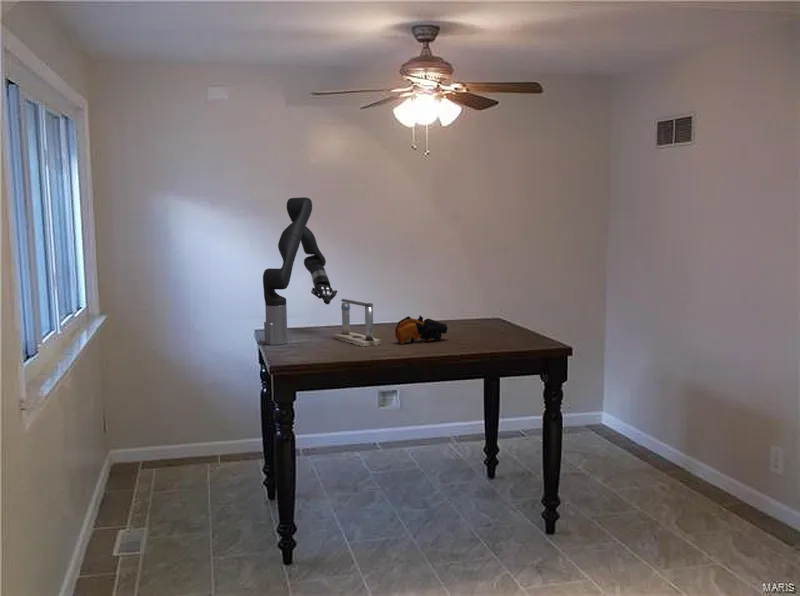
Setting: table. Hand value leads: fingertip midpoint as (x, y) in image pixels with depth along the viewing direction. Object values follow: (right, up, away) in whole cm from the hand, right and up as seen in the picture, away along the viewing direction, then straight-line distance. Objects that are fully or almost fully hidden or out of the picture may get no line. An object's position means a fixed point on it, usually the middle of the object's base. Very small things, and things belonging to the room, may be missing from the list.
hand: (327, 302), depth 353 cm
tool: (+43, -18, -12) cm, 48 cm away
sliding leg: (+9, -14, -3) cm, 17 cm away
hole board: (+14, -17, -11) cm, 25 cm away
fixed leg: (+14, -15, -11) cm, 23 cm away
